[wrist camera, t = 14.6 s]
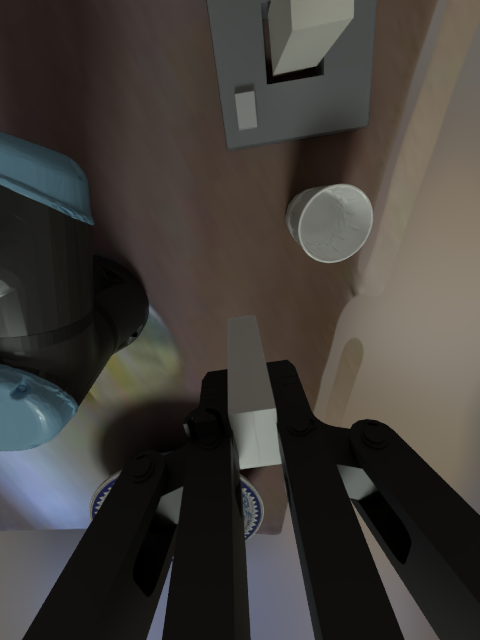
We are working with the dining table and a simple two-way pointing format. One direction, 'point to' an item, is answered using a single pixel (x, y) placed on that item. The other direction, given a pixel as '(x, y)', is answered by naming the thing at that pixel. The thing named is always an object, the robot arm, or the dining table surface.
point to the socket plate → (291, 96)
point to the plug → (304, 31)
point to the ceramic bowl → (250, 502)
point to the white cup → (330, 221)
